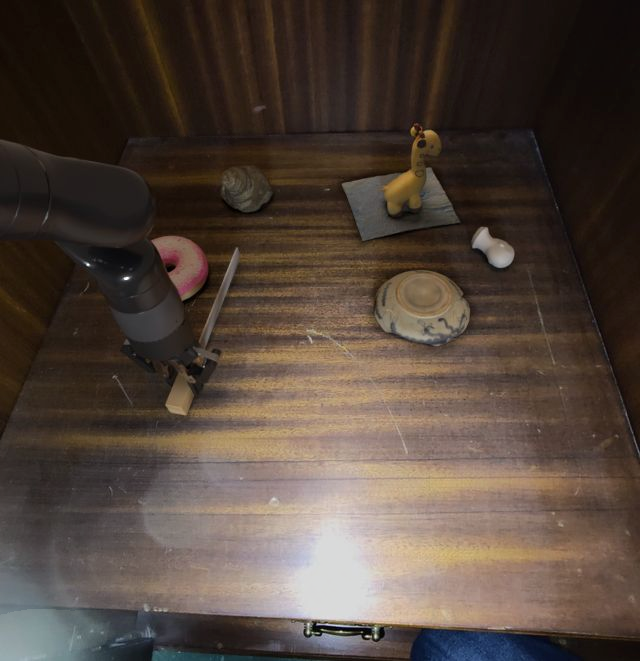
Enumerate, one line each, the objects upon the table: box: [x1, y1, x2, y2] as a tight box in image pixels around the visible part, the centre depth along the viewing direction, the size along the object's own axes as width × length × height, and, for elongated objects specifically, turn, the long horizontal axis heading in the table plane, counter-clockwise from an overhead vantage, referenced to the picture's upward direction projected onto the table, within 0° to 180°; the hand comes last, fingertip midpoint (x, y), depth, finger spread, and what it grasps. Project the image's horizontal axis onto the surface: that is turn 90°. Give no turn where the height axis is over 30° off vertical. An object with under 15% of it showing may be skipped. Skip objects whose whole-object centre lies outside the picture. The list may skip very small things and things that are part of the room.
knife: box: [164, 246, 241, 416], centre depth 78 cm, size 29×2×3 cm, turn 168°
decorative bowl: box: [373, 269, 471, 347], centre depth 80 cm, size 15×4×15 cm
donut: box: [150, 235, 209, 302], centre depth 85 cm, size 14×13×5 cm
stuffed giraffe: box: [341, 123, 461, 242], centre depth 90 cm, size 16×18×16 cm
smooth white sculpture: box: [470, 226, 515, 269], centre depth 86 cm, size 4×8×5 cm
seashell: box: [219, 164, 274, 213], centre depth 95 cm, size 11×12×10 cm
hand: (188, 386), depth 74 cm, fingers closed on knife, 2 cm apart
